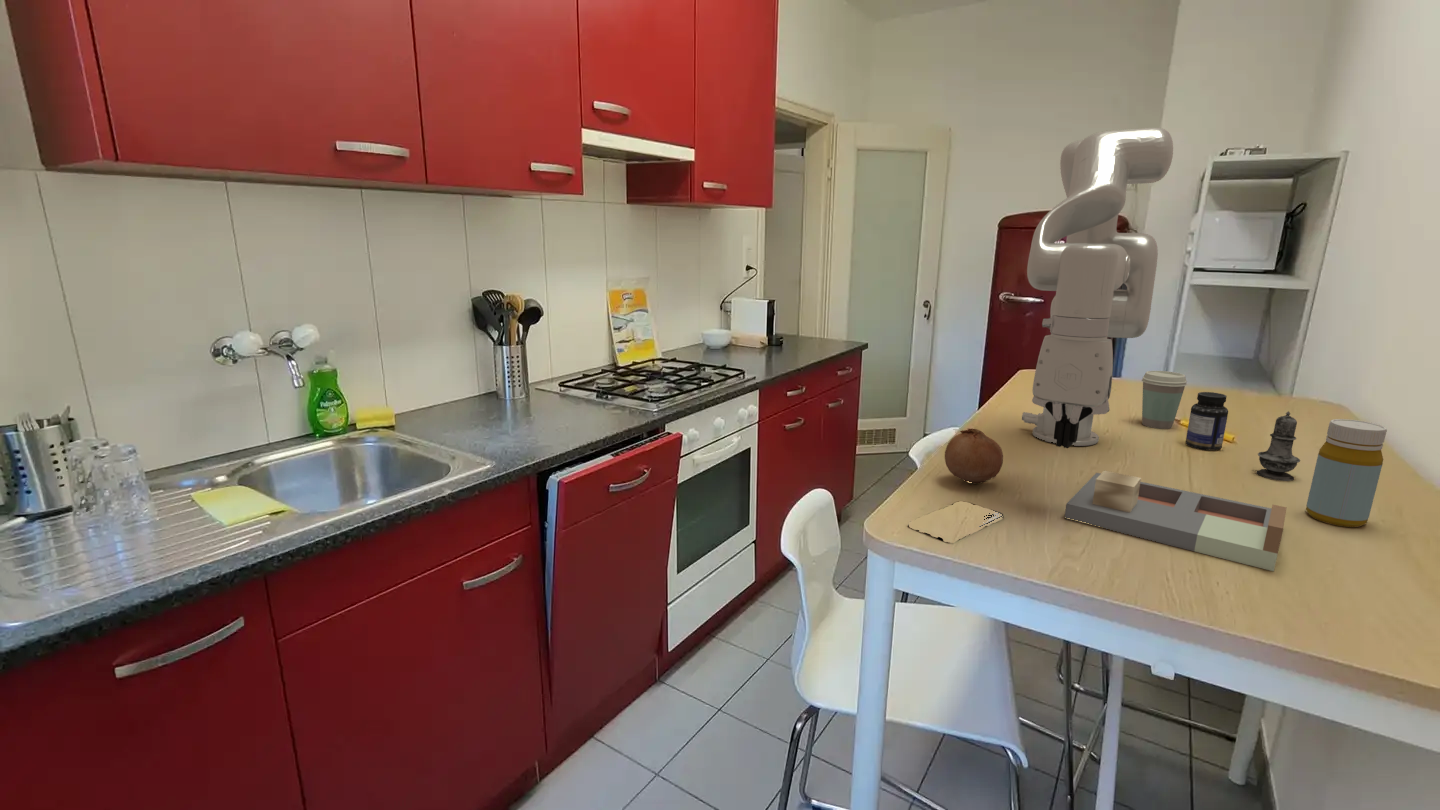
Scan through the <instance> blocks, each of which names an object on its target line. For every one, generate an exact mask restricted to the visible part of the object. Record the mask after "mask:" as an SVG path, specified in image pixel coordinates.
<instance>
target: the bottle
mask: <svg viewBox="0 0 1440 810" xmlns="http://www.w3.org/2000/svg"><path fill="white" fill-rule="evenodd" d="M1387 431H1388V430H1387V427H1386V426H1384V425H1381V424H1377V423H1376V422H1375V423H1373V422H1369V421H1365V420H1358V419H1357V420H1356V419H1348V418H1347V419H1346V418H1336V419H1331V420H1330V421H1329V424H1328V427H1327V433H1326V434H1327V435H1326V438H1325V441H1324V443H1323V444H1322V446H1321V447H1320V448H1319V450H1318V454H1317V457H1316V463H1315V467H1314V470H1313V471H1314V472H1313V475H1312V480H1311V485H1310V489H1309V493H1308V496H1307V501H1306V507H1305V510H1306V512H1307V513H1308V515H1309V516H1310V517H1311V518H1313V519H1315V520H1317V521H1319V522H1322V523H1325V524H1327V525H1332V526H1338V527H1343V528H1344V527H1345V528H1359V527H1362V526H1363V525H1365V524H1367V523H1368V521H1369V519H1370V514H1371V510H1372V506H1373V502H1374V499H1375V495H1376V491H1377V487H1378V484H1379V479H1380V476H1381V471H1382V467H1383V464H1384V463H1383V462H1384V456H1383V452H1382V450H1383V447H1384V443H1385V440H1386V435H1387Z"/></svg>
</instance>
